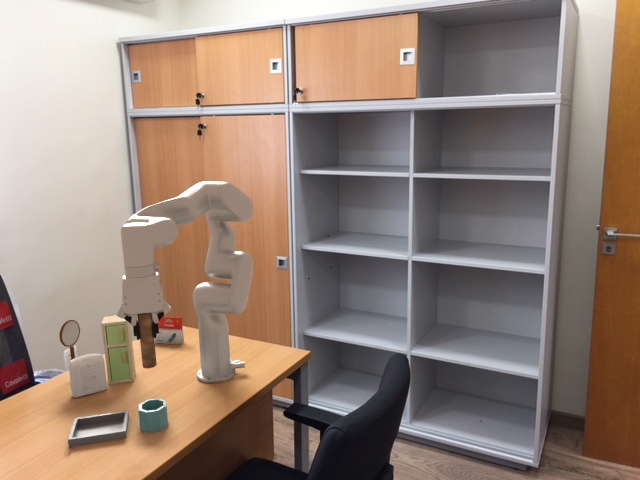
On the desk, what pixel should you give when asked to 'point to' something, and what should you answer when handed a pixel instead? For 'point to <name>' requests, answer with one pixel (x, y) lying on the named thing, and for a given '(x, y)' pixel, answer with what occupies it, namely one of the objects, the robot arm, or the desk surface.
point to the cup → (153, 415)
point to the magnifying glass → (70, 335)
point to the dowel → (147, 340)
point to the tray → (99, 428)
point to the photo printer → (87, 374)
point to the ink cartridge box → (170, 331)
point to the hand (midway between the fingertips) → (146, 336)
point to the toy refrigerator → (118, 350)
